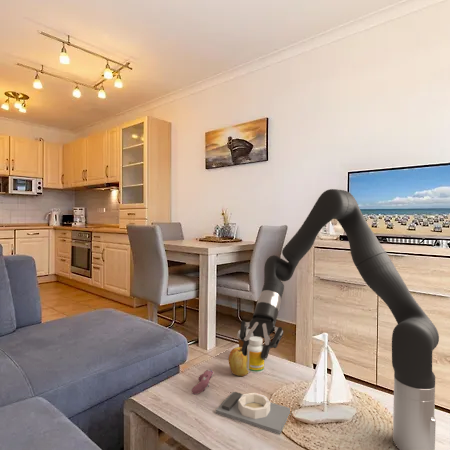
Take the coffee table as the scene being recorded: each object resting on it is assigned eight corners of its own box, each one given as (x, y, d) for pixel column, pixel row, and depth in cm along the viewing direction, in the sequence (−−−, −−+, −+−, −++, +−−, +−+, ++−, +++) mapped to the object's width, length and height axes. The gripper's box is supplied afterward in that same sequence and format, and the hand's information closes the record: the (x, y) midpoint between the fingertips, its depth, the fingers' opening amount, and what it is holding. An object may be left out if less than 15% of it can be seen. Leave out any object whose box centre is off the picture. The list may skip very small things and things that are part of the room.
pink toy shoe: (201, 400, 106) (211, 382, 106) (189, 393, 107) (199, 375, 106) (208, 385, 116) (217, 369, 115) (197, 378, 117) (206, 362, 116)
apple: (252, 369, 126) (253, 344, 126) (251, 380, 117) (251, 353, 117) (229, 367, 127) (230, 342, 127) (226, 378, 118) (227, 351, 118)
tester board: (291, 411, 98) (292, 400, 98) (279, 434, 88) (280, 421, 88) (233, 394, 107) (233, 384, 107) (215, 413, 97) (216, 401, 97)
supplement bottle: (243, 368, 99) (243, 337, 98) (257, 364, 101) (257, 334, 101) (253, 375, 94) (253, 343, 94) (267, 371, 96) (268, 339, 96)
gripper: (244, 298, 107) (228, 346, 97) (286, 304, 101) (273, 356, 90) (250, 310, 112) (235, 357, 101) (291, 316, 105) (279, 367, 95)
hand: (253, 356), depth 96 cm, fingers closed on supplement bottle, 5 cm apart
